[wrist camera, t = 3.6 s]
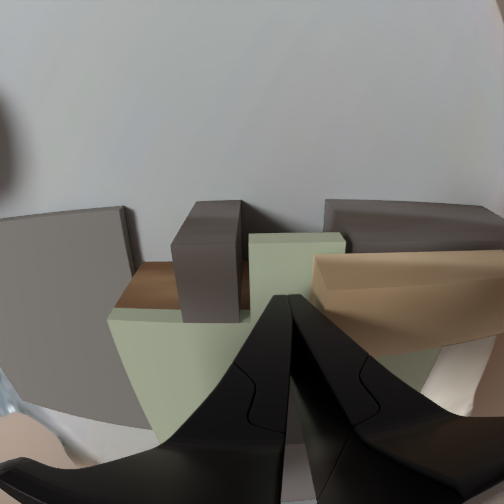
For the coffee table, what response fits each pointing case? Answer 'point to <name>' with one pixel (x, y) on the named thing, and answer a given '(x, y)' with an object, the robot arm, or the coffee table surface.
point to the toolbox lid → (233, 347)
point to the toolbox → (335, 220)
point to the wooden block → (411, 297)
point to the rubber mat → (67, 312)
